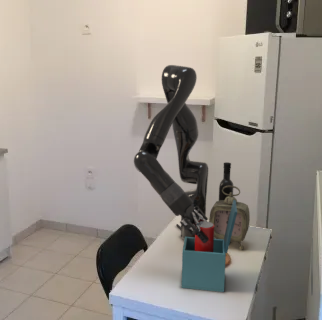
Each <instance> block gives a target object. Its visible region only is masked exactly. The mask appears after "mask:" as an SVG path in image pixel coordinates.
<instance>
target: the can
mask: <svg viewBox="0 0 322 320" xmlns="http://www.w3.org/2000/svg"><path fill="white" fill-rule="evenodd" d="M199 227H200V229H201V231H203V232H204V234H205V235H206V236H207V237H208V238H209V240H208V241H207V242H206V243H203V242H202V241H201V240H200V239H199V237H198V236H197V235H195V250H194V251H202V252H213V250H214V239H215V238H214V228H215V225H214V224H213V223H211V222H209V221H208V220H207V221H200V222H199Z"/></svg>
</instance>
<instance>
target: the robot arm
mask: <svg viewBox="0 0 322 320" xmlns="http://www.w3.org/2000/svg"><path fill="white" fill-rule="evenodd" d="M197 77H198V76H197V72H196V70H195V69H194V68H193V67H189V66H183V65H176V64H168V65H166V66H165V67H164V68H163V69H162V72H161V86H162V90H163V93H164V97H165V99H166V103H167V104H166V105H165V106H164V107H163V108H161V109H160V110H159V111H158V112H157V113H156V114H155V115H154V116H153V117H152V119H151V121H150V122H149V124H148V127H147V129H146V130H145V132H144V133H145V134H144V136H143V140H142V143H141V146H140V148H139V150H138V152H137V153H136V154H135V155H134V157H133V165H134V168H135V169H136V171H138V172H139V173H141V174H142V175H143V177H144V178H145V179H146V180H147V181H148V182H149V184H150V186H151V187H152V189H153V190H154V191H155V192H156V193H157V195H159V197H160V198H161V200H162V201H163V202H164V204H165V205H166V206H167V207H168V209H169V210H170V211H171V212H172V213H173V215H174V216H176V217H179V216H180V221H179V223H180V224H178V223H176V227H177V229H179V230H180V237H181V239H182V241H184V239H185V237H195V235H197V236H198V237H199V239H200V240H201V241H202V242H203V243H206V242H207V241H208V240H209V238H208V237H207V236H206V235H205V234H204V232H203V231H201V229H200V227H199V222H200V221H207V222H208V221H209V218H208V217H207V215H206V214H207V213H206V212H207V194H208V183H209V182H208V181H209V166H208V163H206V162H204V161H198V160H197V161H196V160H190V157H189V156H190V152H191V150H192V149H193V147H194V146H195V144H196V143H197V141H198V138H199V127H198V121H197V117H196V116H195V114H194V112H193V111H192V109H191V108H190V107H189V106H188V104H187V100H188V99H189V98H190V96H191V95H192V92H193V90H194V89H195V86H196V83H197V79H198V78H197ZM171 127H172V134H173V137H174V141H175V147H176V152H177V163H178V164H177V165H178V173H179V178H180V181H181V182H182V183H185V184H189V185H196V188H193V189H189V190H186V191H185V190H184V189H183V187H181V186H180V185H179V184H178V183H177V182H176V181H175V180H174V179H173V178H172V177H171V175H170V174H169V173H168V172H167V171H166V170H165V169H164V168H163V166H162V165H161V163H160V162H159V161H158V156H159V153H160V151H161V149H162V146H163V145H164V143H165V142H166V137H167V136H168V134H169V132H170V130H171Z"/></svg>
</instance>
